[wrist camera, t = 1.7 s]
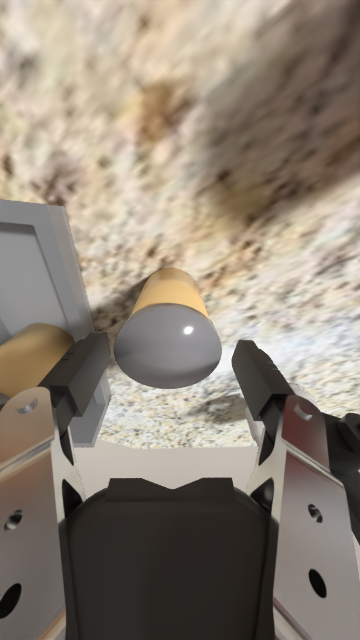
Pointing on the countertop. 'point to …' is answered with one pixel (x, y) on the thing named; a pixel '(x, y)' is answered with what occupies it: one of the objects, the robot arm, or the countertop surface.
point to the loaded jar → (30, 357)
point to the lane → (46, 290)
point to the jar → (168, 334)
